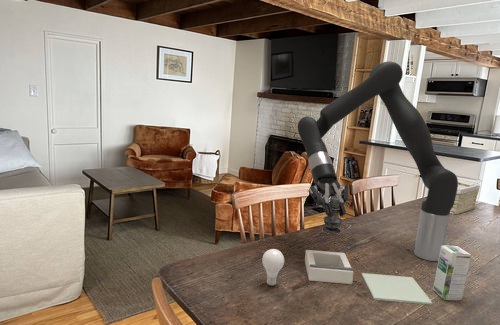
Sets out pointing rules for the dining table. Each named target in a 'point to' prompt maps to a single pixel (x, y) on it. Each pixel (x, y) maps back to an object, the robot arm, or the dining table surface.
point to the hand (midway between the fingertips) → (336, 215)
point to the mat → (395, 289)
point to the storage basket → (465, 197)
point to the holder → (328, 267)
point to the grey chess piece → (333, 217)
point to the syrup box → (451, 272)
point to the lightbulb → (272, 264)
